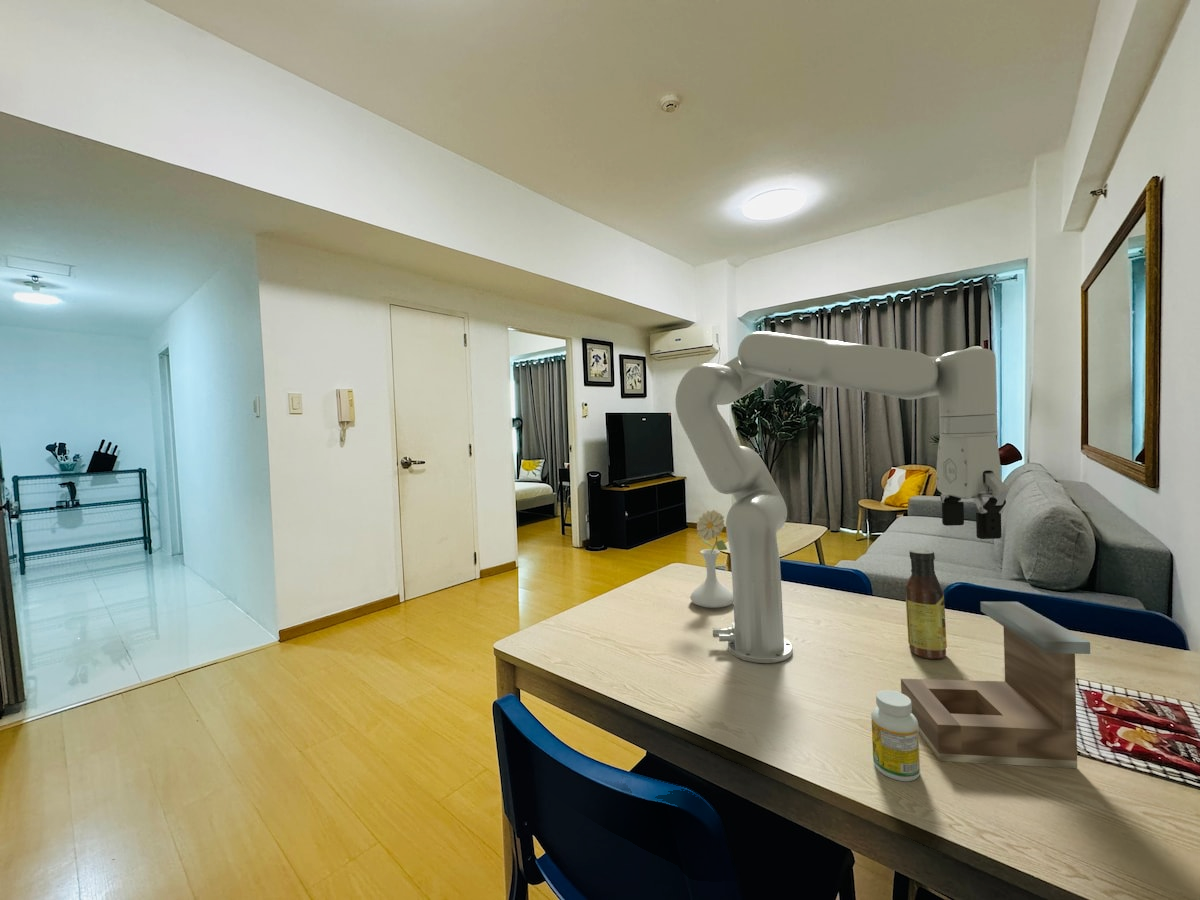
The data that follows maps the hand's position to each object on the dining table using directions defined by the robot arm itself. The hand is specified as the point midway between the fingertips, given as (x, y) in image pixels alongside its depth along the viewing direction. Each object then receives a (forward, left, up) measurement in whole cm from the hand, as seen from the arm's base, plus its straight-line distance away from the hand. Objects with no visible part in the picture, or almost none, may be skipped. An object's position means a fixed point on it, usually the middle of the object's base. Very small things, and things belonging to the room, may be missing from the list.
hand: (970, 531), depth 81 cm
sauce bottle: (-2, +13, -27) cm, 30 cm away
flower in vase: (-41, +38, -27) cm, 62 cm away
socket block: (-5, -13, -27) cm, 30 cm away
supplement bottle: (-20, -21, -27) cm, 39 cm away
